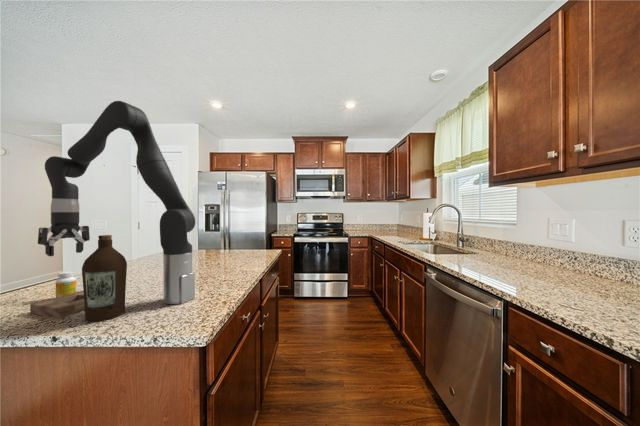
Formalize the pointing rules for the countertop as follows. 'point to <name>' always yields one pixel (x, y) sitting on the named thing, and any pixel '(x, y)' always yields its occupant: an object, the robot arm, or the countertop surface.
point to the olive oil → (104, 282)
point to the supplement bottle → (65, 284)
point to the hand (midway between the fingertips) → (65, 254)
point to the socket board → (60, 306)
